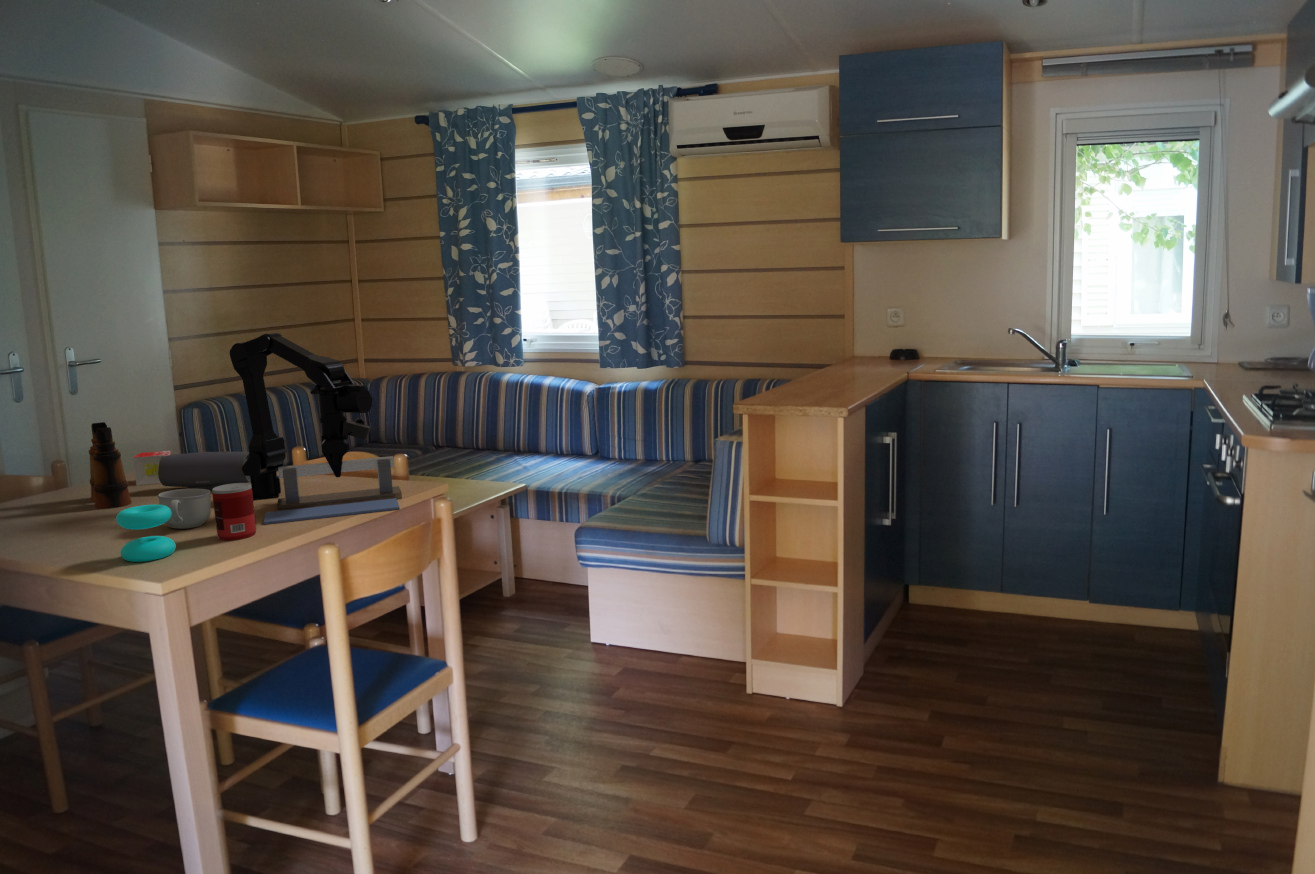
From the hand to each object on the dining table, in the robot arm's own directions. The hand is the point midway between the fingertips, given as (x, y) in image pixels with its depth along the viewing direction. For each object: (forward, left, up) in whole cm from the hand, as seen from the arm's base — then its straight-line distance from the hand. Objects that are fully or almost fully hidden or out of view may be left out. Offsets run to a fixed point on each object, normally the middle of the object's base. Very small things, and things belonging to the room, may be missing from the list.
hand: (338, 474), depth 242 cm
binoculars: (-56, +30, -7) cm, 64 cm away
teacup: (-34, -10, -7) cm, 36 cm away
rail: (0, 0, +1) cm, 1 cm away
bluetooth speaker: (-33, +35, -7) cm, 49 cm away
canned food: (-22, -24, -7) cm, 33 cm away
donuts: (-38, -33, -7) cm, 51 cm away
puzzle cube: (-49, +54, -7) cm, 73 cm away
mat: (-2, -11, -7) cm, 13 cm away
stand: (0, 0, -7) cm, 7 cm away
